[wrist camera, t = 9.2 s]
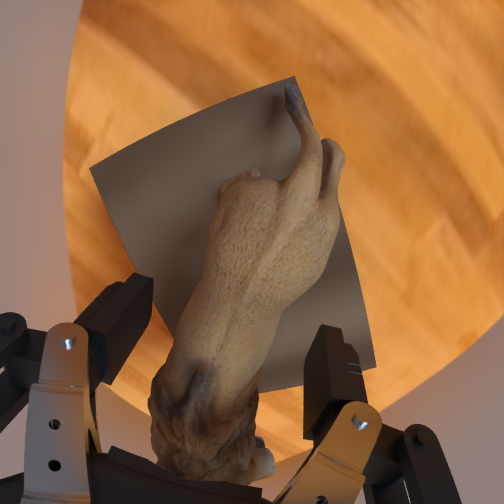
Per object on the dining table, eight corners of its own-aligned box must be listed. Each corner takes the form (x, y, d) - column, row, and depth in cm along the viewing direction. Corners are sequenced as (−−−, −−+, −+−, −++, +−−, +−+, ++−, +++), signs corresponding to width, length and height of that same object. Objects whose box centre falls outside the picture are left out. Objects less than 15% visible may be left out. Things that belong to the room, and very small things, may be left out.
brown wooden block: (154, 149, 20) (89, 168, 13) (292, 93, 18) (294, 76, 11) (233, 326, 25) (213, 399, 18) (355, 294, 23) (376, 367, 16)
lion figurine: (278, 381, 17) (264, 529, 9) (186, 361, 17) (132, 499, 9) (353, 100, 11) (481, 68, 3) (219, 75, 11) (85, 6, 3)
